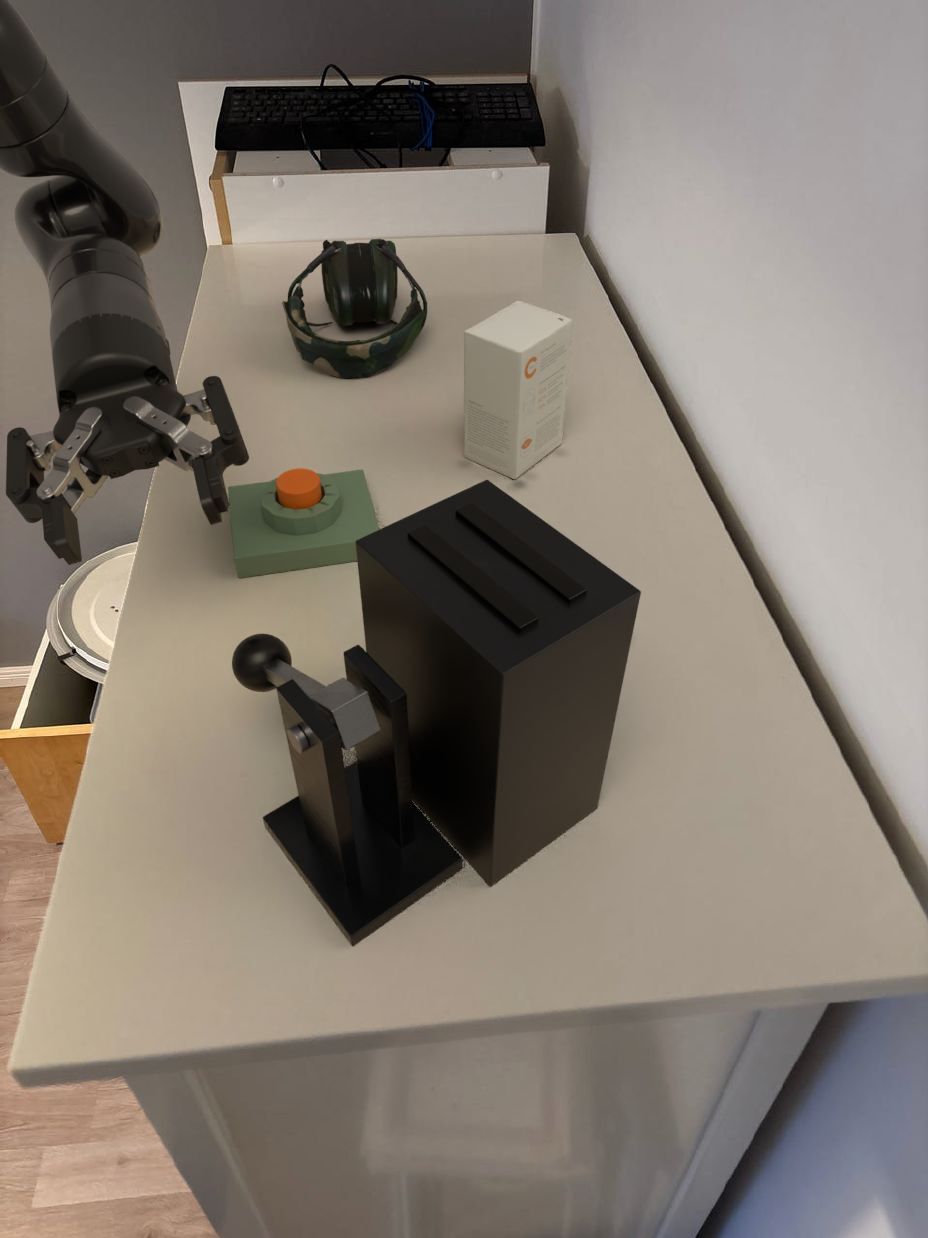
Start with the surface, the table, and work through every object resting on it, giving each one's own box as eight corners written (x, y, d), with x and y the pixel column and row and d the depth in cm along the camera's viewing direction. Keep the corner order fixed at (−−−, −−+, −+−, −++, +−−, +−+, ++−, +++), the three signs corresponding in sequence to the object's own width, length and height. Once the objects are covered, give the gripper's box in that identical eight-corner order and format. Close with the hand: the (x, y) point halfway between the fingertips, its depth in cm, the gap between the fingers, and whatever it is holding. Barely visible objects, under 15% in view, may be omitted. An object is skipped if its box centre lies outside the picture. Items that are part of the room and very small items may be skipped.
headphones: (268, 258, 104) (272, 365, 92) (343, 175, 98) (357, 278, 86) (353, 323, 113) (367, 428, 101) (427, 251, 107) (451, 353, 95)
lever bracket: (264, 827, 56) (222, 668, 46) (370, 763, 60) (353, 602, 49) (352, 947, 50) (326, 797, 40) (463, 869, 54) (465, 712, 44)
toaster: (376, 759, 60) (354, 535, 46) (479, 696, 64) (487, 473, 50) (490, 887, 53) (503, 669, 40) (597, 808, 57) (643, 585, 44)
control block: (238, 578, 73) (229, 540, 70) (232, 506, 80) (224, 469, 77) (383, 557, 75) (380, 520, 72) (364, 488, 82) (361, 452, 79)
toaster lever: (235, 693, 56) (214, 643, 55) (285, 667, 58) (266, 618, 56) (338, 768, 45) (315, 707, 43) (396, 733, 46) (376, 674, 45)
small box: (511, 422, 90) (517, 297, 81) (563, 444, 87) (576, 318, 78) (461, 457, 85) (462, 329, 76) (514, 481, 83) (521, 352, 74)
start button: (280, 513, 73) (277, 496, 72) (276, 487, 76) (274, 470, 74) (324, 507, 74) (322, 490, 72) (319, 482, 76) (317, 465, 75)
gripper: (-22, 340, 57) (-14, 530, 48) (197, 284, 58) (242, 459, 50) (33, 424, 63) (49, 605, 55) (229, 371, 65) (274, 539, 56)
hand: (141, 535), depth 52 cm, fingers open, 8 cm apart
